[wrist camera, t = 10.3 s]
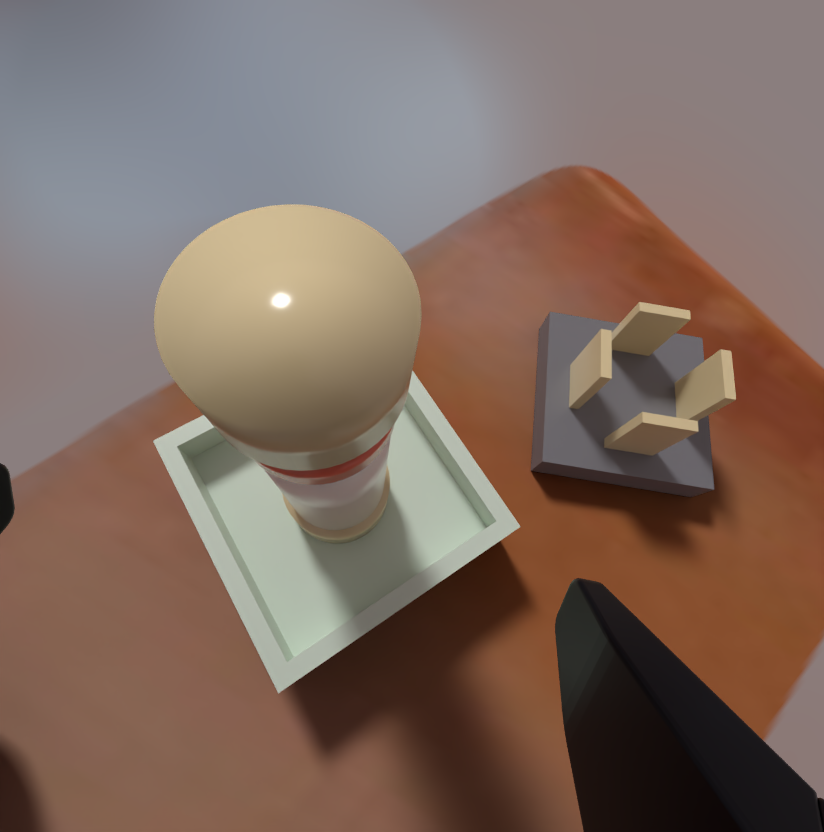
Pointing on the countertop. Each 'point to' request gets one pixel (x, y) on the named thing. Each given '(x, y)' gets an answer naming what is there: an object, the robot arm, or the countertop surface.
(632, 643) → the robot arm
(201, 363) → the white and tan post
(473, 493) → the tray
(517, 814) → the countertop surface
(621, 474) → the grey stand with brackets
